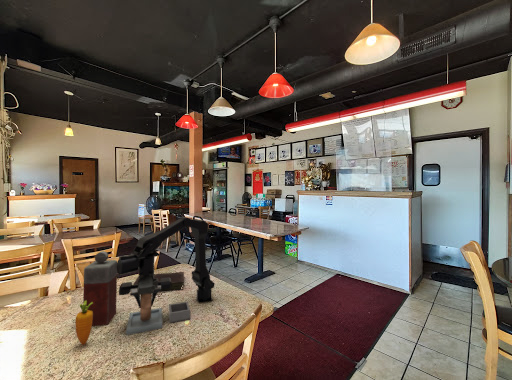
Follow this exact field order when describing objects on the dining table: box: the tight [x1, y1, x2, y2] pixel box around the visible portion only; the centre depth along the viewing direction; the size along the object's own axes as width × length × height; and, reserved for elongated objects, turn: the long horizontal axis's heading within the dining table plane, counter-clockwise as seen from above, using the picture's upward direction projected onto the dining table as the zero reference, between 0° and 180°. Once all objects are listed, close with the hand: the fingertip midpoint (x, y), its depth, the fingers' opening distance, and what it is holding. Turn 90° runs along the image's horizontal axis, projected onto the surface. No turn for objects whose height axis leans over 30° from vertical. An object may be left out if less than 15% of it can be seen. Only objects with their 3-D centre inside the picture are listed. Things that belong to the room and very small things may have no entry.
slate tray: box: [125, 307, 163, 336], centre depth 94 cm, size 12×12×2 cm
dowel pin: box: [139, 293, 153, 321], centre depth 94 cm, size 4×4×10 cm
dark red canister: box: [82, 250, 118, 327], centre depth 97 cm, size 9×11×28 cm
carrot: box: [75, 301, 93, 346], centre depth 80 cm, size 5×5×15 cm
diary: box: [132, 271, 185, 294], centre depth 130 cm, size 19×25×5 cm
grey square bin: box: [168, 301, 191, 324], centre depth 99 cm, size 8×8×4 cm
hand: (145, 306), depth 94 cm, fingers closed on dowel pin, 4 cm apart
